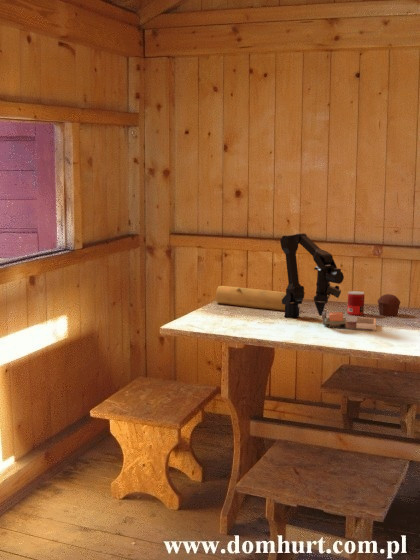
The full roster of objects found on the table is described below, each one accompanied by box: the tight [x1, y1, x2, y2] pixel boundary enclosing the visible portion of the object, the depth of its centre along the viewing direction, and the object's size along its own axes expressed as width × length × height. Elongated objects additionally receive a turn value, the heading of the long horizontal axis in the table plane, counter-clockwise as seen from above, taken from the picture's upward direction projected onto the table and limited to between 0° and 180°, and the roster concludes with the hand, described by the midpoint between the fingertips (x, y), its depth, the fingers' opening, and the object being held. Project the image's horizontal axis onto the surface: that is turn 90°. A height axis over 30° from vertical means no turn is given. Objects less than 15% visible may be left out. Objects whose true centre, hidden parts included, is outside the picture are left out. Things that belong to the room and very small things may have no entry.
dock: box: [327, 316, 377, 332], centre depth 369 cm, size 21×14×4 cm, turn 78°
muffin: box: [377, 293, 401, 317], centre depth 398 cm, size 12×11×10 cm
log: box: [215, 285, 286, 312], centre depth 412 cm, size 38×10×10 cm, turn 63°
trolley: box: [321, 309, 347, 327], centre depth 371 cm, size 10×11×6 cm
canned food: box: [346, 290, 365, 317], centre depth 398 cm, size 8×8×11 cm
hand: (321, 313), depth 372 cm, fingers open, 9 cm apart
